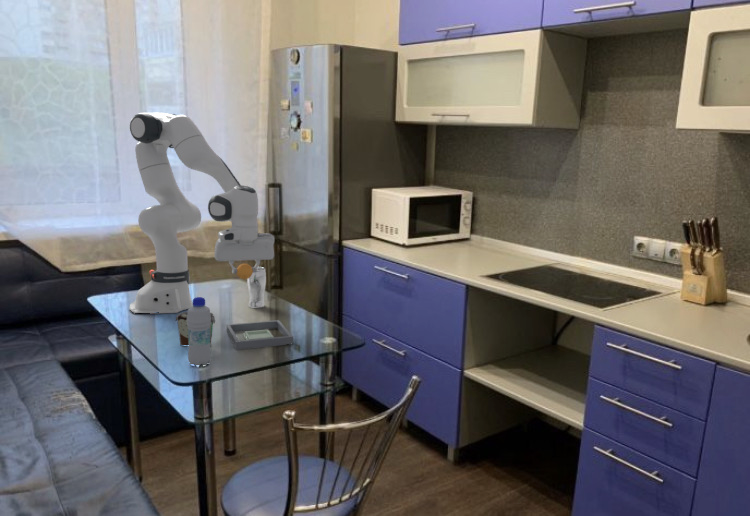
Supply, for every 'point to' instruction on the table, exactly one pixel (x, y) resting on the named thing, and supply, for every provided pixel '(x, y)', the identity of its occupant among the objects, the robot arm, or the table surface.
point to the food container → (183, 327)
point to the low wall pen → (258, 343)
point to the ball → (244, 271)
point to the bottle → (199, 332)
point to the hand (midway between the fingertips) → (244, 272)
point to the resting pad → (257, 334)
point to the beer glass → (257, 288)
